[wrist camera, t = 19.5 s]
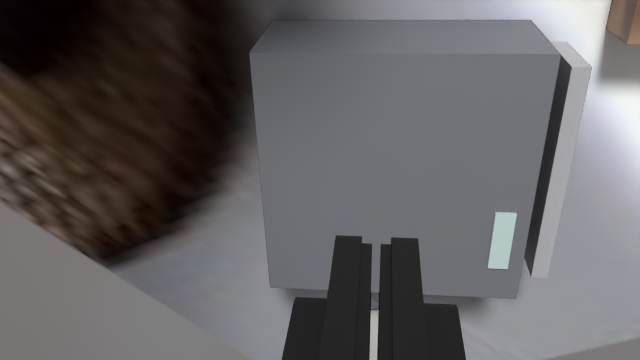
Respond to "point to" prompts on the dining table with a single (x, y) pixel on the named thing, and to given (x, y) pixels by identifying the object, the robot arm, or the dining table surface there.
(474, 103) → the grey drawer box
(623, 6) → the pedestal
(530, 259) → the tray
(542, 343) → the dining table surface
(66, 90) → the dining table surface
